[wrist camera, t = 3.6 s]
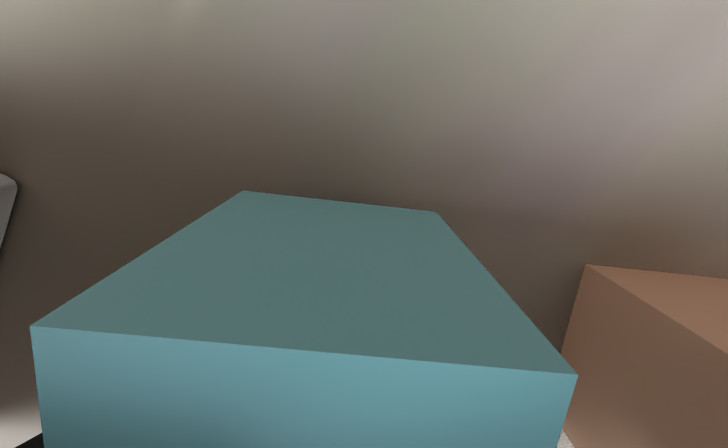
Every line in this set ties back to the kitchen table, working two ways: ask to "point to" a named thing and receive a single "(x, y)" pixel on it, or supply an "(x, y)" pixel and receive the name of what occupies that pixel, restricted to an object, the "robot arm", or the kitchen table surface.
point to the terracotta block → (648, 360)
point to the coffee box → (6, 202)
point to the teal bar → (300, 340)
